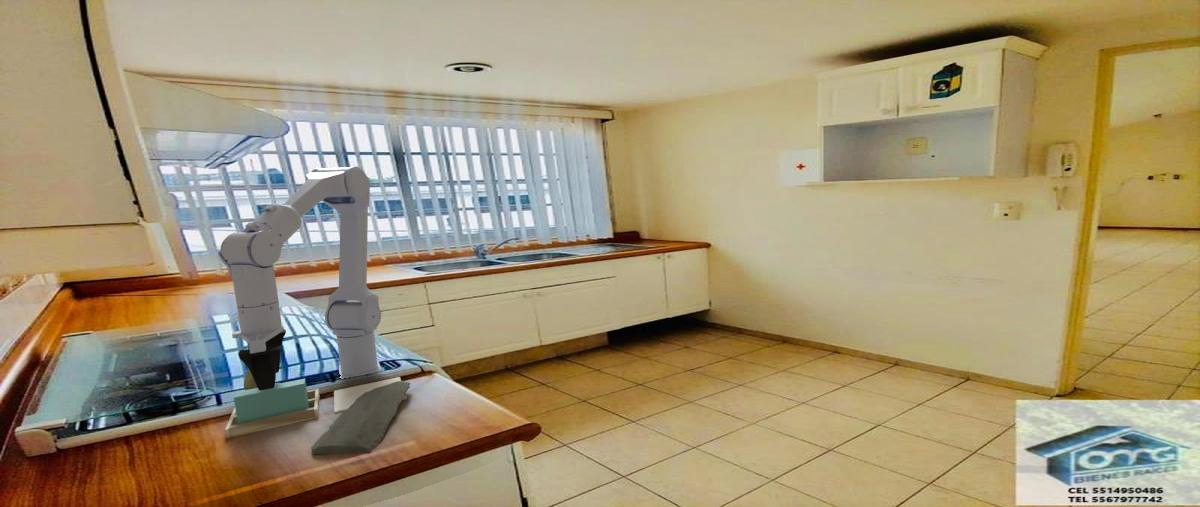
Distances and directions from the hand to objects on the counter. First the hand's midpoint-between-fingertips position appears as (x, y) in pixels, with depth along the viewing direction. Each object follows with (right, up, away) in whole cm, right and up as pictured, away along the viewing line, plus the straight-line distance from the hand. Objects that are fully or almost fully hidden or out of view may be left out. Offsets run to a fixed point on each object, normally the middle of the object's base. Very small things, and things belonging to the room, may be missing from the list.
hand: (269, 380), depth 83 cm
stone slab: (+17, -7, +1) cm, 18 cm away
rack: (-1, -7, +3) cm, 8 cm away
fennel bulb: (-11, -6, +14) cm, 19 cm away
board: (0, -7, +1) cm, 7 cm away
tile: (+12, -6, +10) cm, 17 cm away
